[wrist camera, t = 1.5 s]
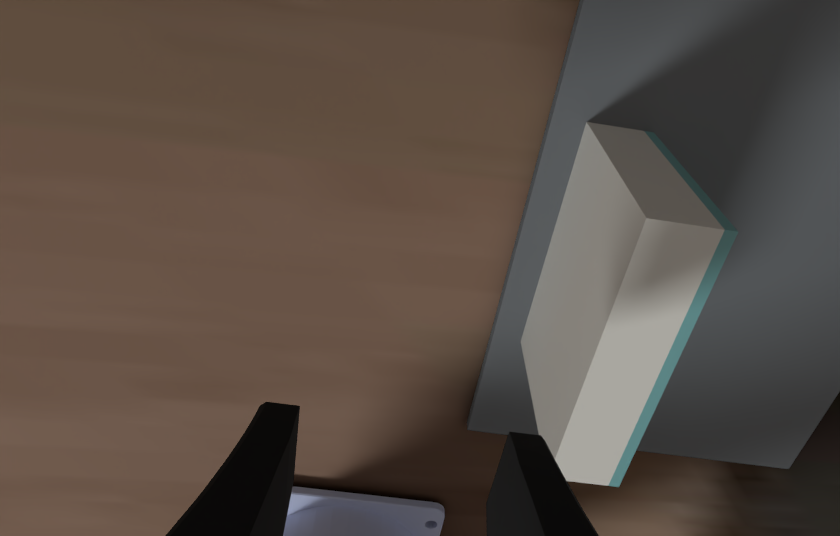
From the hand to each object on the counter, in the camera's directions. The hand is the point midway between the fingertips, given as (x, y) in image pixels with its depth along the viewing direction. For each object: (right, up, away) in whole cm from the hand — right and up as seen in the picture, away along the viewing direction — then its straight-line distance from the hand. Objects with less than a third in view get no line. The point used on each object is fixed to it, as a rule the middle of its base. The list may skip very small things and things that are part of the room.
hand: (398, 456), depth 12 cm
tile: (+5, +4, +9) cm, 11 cm away
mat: (+10, +4, +9) cm, 14 cm away
